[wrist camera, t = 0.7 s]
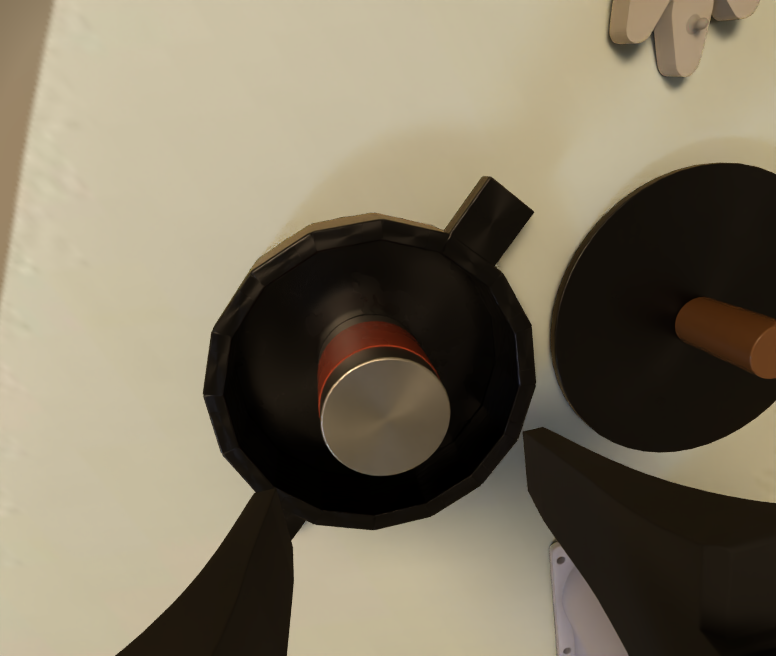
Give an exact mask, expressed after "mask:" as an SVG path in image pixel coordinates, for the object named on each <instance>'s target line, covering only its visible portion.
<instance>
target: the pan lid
mask: <svg viewBox="0 0 776 656" xmlns="http://www.w3.org/2000/svg"><path fill="white" fill-rule="evenodd" d="M551 353H552V360H553V367H554V370H555V374H556V377H557V381H558V383H559V386H560V388H561V390H562V392H563V394H564V397H565V398H566V400H567V401H568V403H569V404H570V406H571V407H572V409H573V410H574V411H575V413H576V414H577V415H578V416H579V417H580V418H581V419H582V420H583V421H584V422H585V423H586V424H587V425H588V426H589V427H591V428H592V429H593V430H594V431H596V432H597V433H598V434H599V435H601V436H603V437H605V438H606V439H608V440H610V441H612V442H614V443H616V444H619V445H622V446H624V447H627V448H631V449H636V450H640V451H647V452H676V451H682V450H688V449H693V448H696V447H700V446H703V445H706V444H709V443H712V442H714V441H717V440H719V439H721V438H724V437H726V436H728V435H730V434H731V433H733V432H735V431H737V430H739V429H740V428H742V427H744V426H745V425H746V424H748V423H749V422H751V421H752V420H754V419H755V418H757V417H758V416H759V415H760V414H761V413H763V412H764V411H765V410H766V409H767V408H769V407H770V406H771V405H772V404H773V403H774V402H775V401H776V174H775V173H772V172H769V171H767V170H764V169H762V168H759V167H755V166H750V165H745V164H740V163H709V164H700V165H693V166H690V167H686V168H682V169H678V170H675V171H672V172H670V173H667V174H665V175H662V176H660V177H657V178H655V179H653V180H652V181H650V182H648V183H646V184H645V185H643V186H641V187H639V188H637V189H636V190H635V191H633V192H632V193H631V194H629V195H628V196H626V197H625V198H624V199H622V200H621V201H620V202H618V203H617V204H616V205H615V206H614V207H613V208H612V209H611V210H610V211H609V212H608V213H606V214H605V215H604V216H603V217H602V218H601V220H600V221H599V222H598V223H597V224H596V225H595V227H594V228H593V229H592V230H591V231H590V232H589V233H588V235H587V236H586V238H585V239H584V241H583V242H582V244H581V245H580V247H579V248H578V250H577V251H576V253H575V255H574V257H573V258H572V260H571V262H570V264H569V266H568V268H567V270H566V272H565V275H564V277H563V280H562V282H561V285H560V287H559V290H558V294H557V298H556V301H555V305H554V309H553V316H552V324H551Z"/></svg>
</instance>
